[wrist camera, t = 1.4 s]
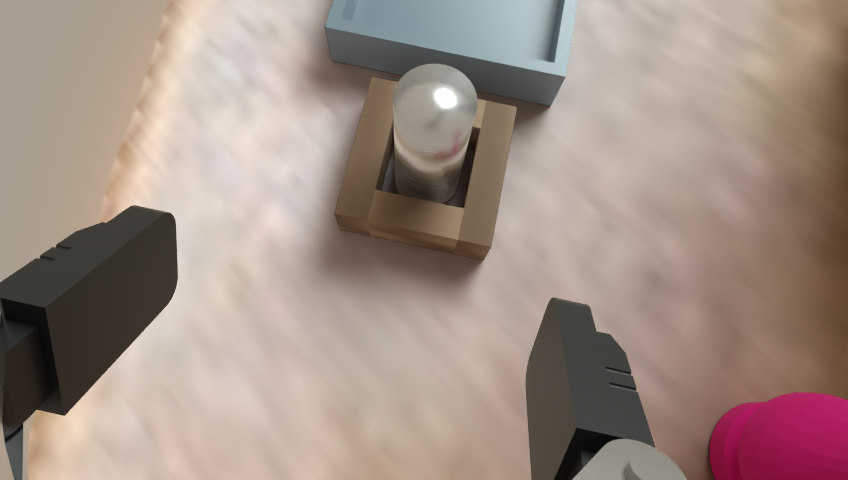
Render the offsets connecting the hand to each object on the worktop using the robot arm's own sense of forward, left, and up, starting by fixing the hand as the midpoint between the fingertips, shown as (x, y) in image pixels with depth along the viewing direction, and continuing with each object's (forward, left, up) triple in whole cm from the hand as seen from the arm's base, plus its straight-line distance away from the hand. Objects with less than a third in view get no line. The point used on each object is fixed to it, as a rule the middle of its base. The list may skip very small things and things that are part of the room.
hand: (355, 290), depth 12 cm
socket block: (0, -12, -21) cm, 24 cm away
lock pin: (0, -12, -21) cm, 24 cm away
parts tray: (0, -26, -21) cm, 34 cm away
